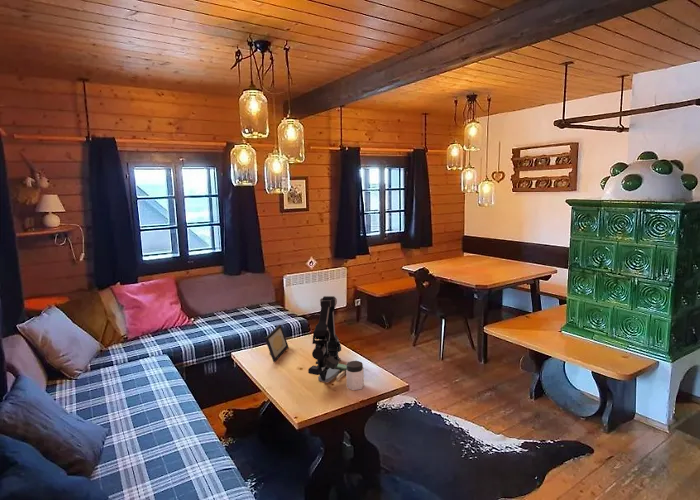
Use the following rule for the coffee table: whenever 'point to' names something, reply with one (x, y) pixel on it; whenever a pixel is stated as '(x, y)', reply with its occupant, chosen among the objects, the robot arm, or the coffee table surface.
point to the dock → (341, 368)
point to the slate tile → (330, 375)
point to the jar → (355, 375)
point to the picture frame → (276, 343)
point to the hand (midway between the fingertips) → (323, 380)
